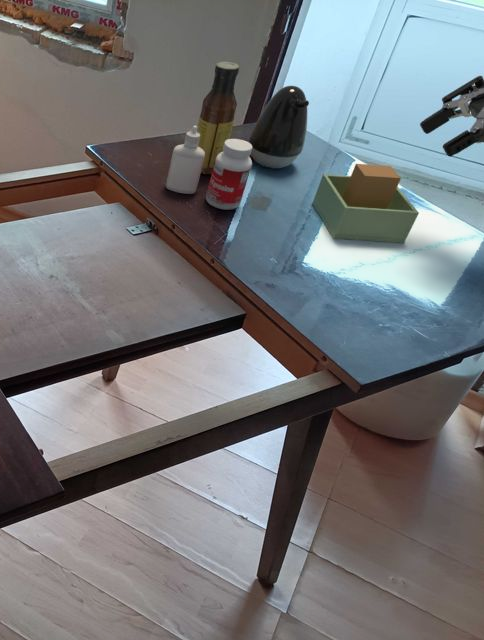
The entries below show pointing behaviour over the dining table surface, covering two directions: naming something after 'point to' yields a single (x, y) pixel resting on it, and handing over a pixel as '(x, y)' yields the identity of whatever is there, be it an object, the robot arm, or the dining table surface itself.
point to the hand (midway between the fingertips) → (433, 140)
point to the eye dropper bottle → (186, 165)
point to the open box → (362, 214)
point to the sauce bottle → (217, 114)
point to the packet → (371, 186)
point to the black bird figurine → (280, 129)
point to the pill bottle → (230, 175)
